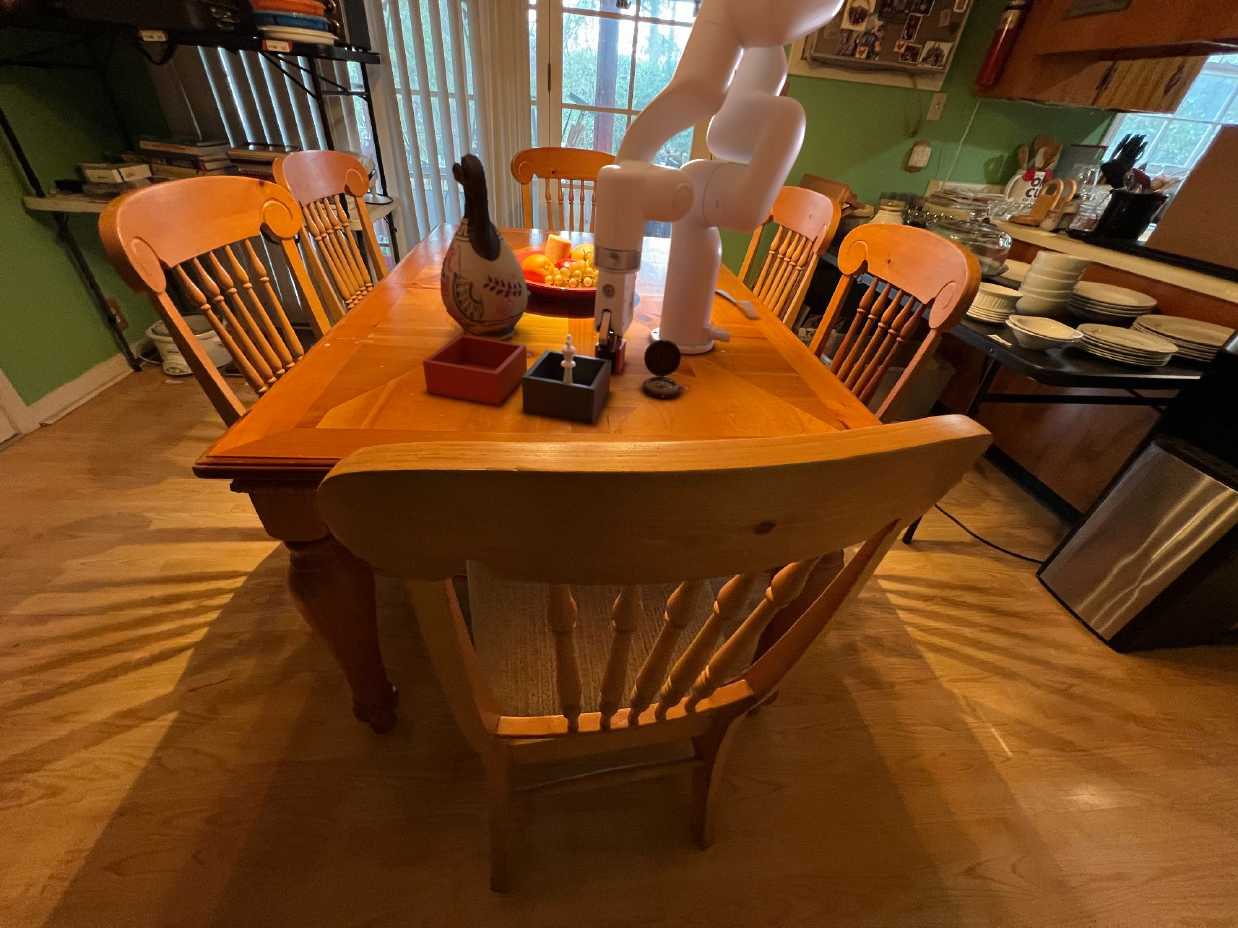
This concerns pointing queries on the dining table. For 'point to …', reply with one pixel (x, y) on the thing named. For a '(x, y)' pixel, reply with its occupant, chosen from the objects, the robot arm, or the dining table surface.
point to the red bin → (476, 369)
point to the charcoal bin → (566, 387)
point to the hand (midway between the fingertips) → (609, 364)
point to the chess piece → (568, 360)
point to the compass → (662, 369)
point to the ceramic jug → (481, 265)
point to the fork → (739, 302)
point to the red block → (620, 353)
